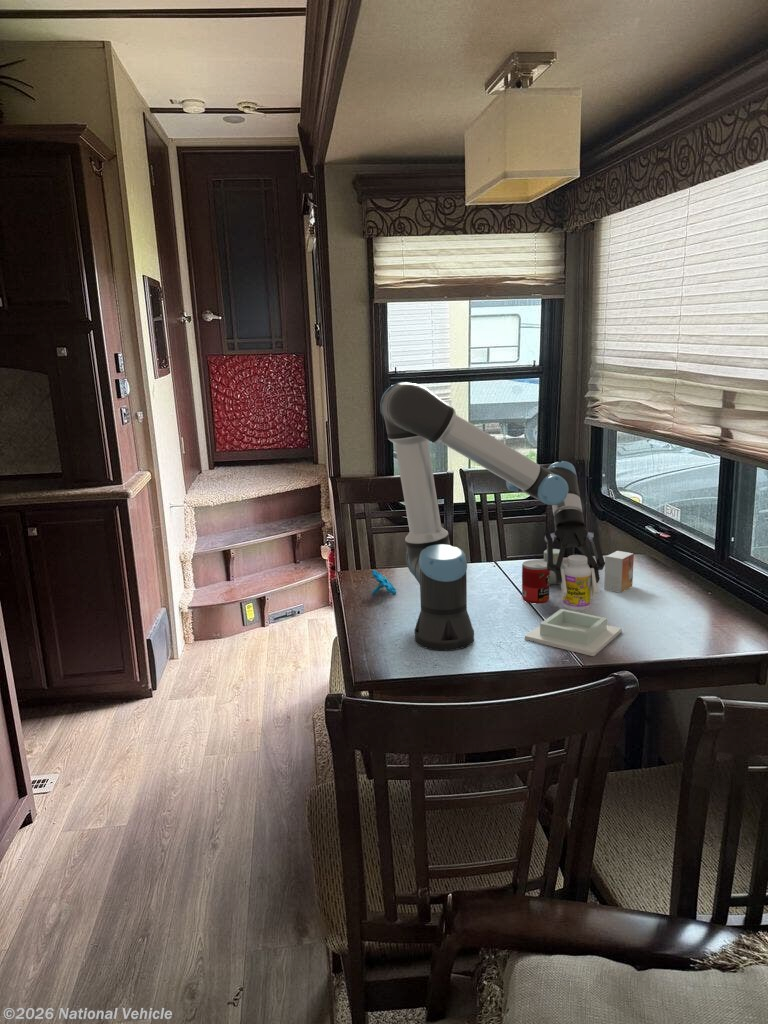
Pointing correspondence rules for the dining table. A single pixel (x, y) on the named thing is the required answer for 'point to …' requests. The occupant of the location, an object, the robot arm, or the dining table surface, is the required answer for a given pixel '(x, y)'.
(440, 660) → the dining table surface
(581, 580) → the supplement bottle
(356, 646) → the dining table surface
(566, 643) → the tray
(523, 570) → the canned food
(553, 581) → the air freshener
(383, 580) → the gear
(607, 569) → the small box
